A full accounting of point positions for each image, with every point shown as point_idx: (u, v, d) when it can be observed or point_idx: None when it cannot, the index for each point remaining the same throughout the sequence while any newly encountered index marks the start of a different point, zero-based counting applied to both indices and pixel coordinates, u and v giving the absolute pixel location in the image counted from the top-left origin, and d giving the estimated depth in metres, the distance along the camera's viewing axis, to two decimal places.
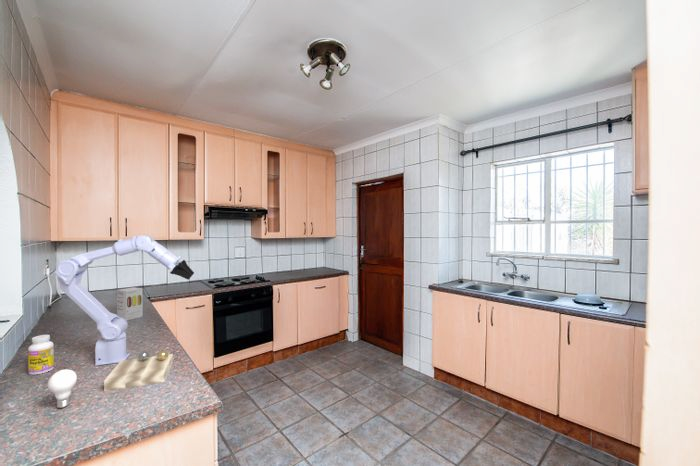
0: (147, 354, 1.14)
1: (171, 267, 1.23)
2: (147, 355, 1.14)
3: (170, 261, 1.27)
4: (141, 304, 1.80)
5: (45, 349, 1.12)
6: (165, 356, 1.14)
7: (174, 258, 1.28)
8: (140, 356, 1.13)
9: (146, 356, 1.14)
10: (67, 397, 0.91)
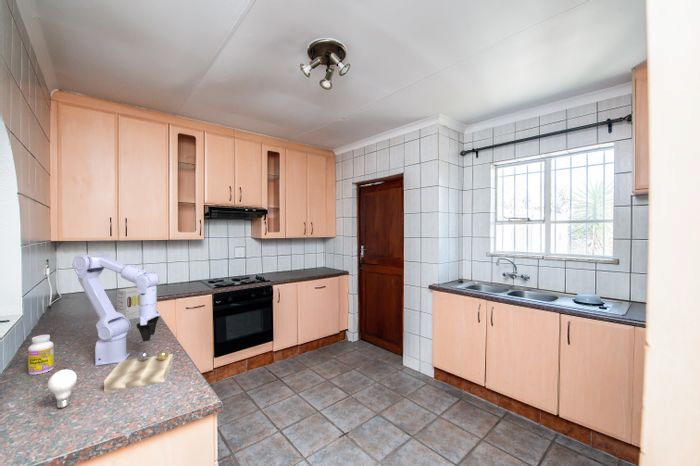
0: (147, 354, 1.14)
1: (142, 323, 1.14)
2: (147, 355, 1.14)
3: (148, 314, 1.19)
4: None
5: (45, 349, 1.12)
6: (165, 356, 1.14)
7: (153, 313, 1.20)
8: (140, 356, 1.13)
9: (146, 356, 1.14)
10: (67, 397, 0.91)
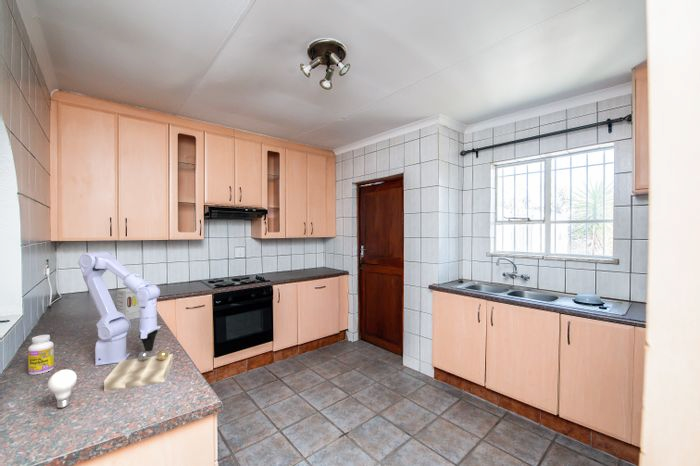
0: (147, 354, 1.14)
1: (142, 336, 1.14)
2: (147, 355, 1.14)
3: (148, 327, 1.19)
4: None
5: (45, 349, 1.12)
6: (165, 356, 1.14)
7: (153, 326, 1.20)
8: (140, 356, 1.13)
9: (146, 356, 1.14)
10: (67, 397, 0.91)
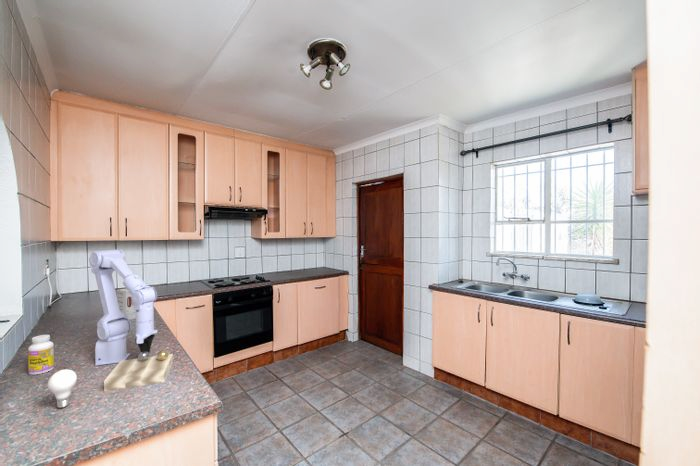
0: (147, 354, 1.14)
1: (138, 341, 1.09)
2: (147, 355, 1.14)
3: (144, 331, 1.14)
4: None
5: (45, 349, 1.12)
6: (165, 356, 1.14)
7: (150, 331, 1.15)
8: (140, 356, 1.13)
9: (146, 356, 1.14)
10: (67, 397, 0.91)
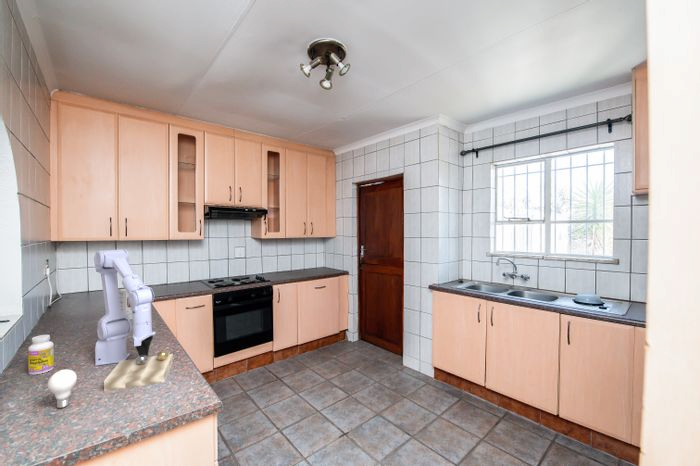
0: (146, 361, 1.12)
1: (135, 344, 1.06)
2: (146, 361, 1.12)
3: (142, 333, 1.10)
4: None
5: (45, 349, 1.12)
6: (165, 356, 1.14)
7: (148, 332, 1.12)
8: None
9: None
10: (67, 397, 0.91)
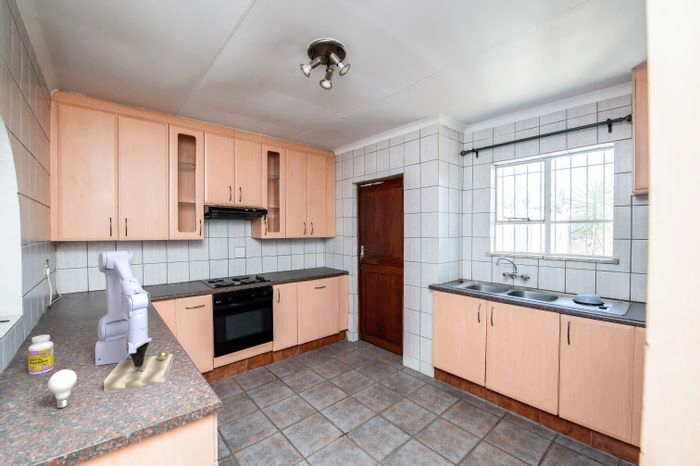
0: None
1: (130, 351, 1.01)
2: None
3: (137, 339, 1.06)
4: None
5: (45, 349, 1.12)
6: (165, 356, 1.14)
7: (143, 339, 1.07)
8: None
9: None
10: (67, 397, 0.91)
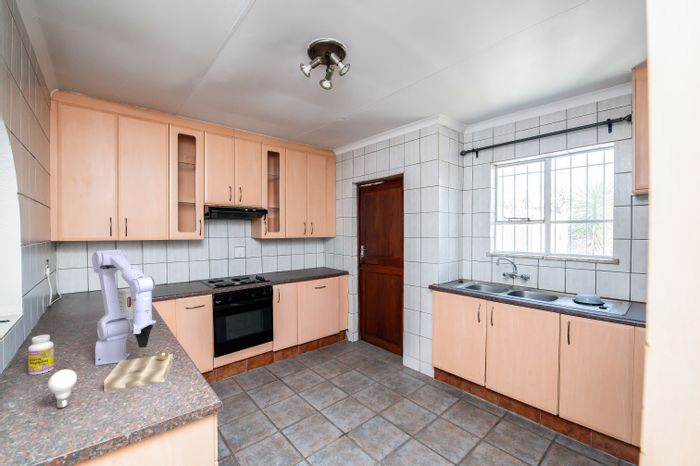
0: None
1: (135, 331, 1.06)
2: (141, 371, 1.08)
3: (142, 321, 1.10)
4: None
5: (45, 349, 1.12)
6: (165, 356, 1.14)
7: (148, 321, 1.11)
8: None
9: (140, 370, 1.08)
10: (67, 397, 0.91)
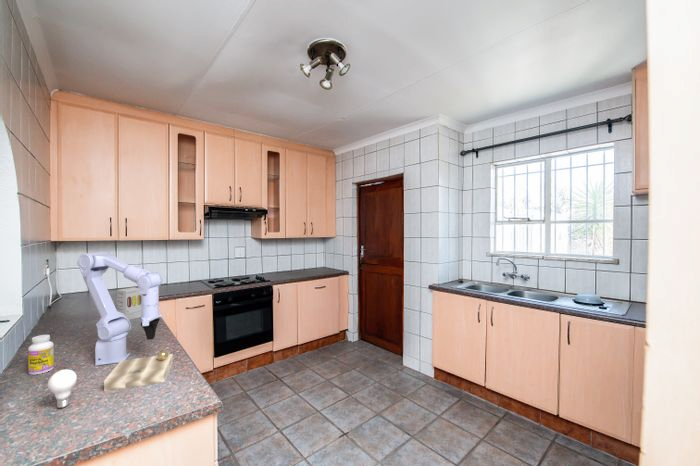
0: None
1: (144, 324, 1.13)
2: (141, 371, 1.08)
3: (150, 314, 1.18)
4: None
5: (45, 349, 1.12)
6: (165, 356, 1.14)
7: (155, 314, 1.19)
8: None
9: (140, 370, 1.08)
10: (67, 397, 0.91)
